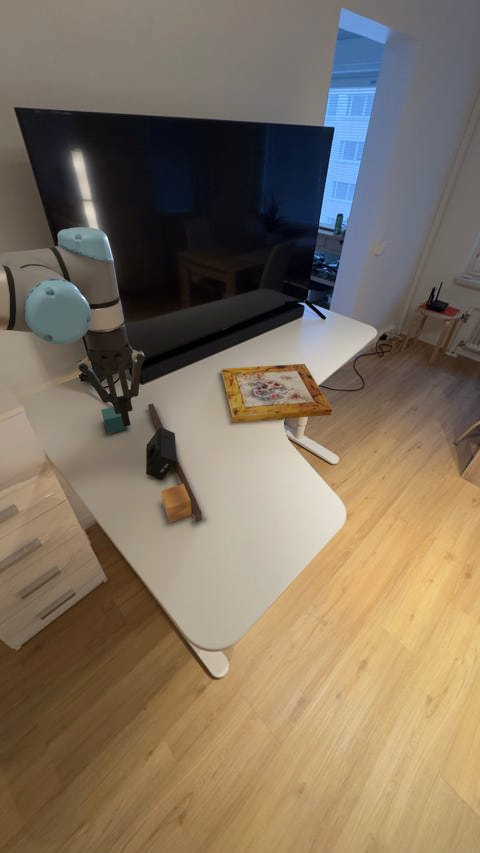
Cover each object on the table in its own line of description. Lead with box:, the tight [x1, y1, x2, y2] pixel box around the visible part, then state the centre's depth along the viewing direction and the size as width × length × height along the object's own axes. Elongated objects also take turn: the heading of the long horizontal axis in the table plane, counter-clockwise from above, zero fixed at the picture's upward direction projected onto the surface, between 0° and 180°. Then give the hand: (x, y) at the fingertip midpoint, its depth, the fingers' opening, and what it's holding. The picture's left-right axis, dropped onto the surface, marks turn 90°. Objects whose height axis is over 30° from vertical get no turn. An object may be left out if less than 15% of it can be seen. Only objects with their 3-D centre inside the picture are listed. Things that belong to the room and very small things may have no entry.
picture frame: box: [220, 363, 333, 424], centre depth 110 cm, size 27×2×30 cm
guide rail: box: [147, 403, 203, 523], centre depth 87 cm, size 2×42×2 cm, turn 25°
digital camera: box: [145, 427, 178, 481], centre depth 83 cm, size 10×5×7 cm
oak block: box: [160, 484, 193, 523], centre depth 74 cm, size 5×5×5 cm
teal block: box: [100, 406, 127, 435], centre depth 94 cm, size 5×5×5 cm
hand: (126, 422), depth 79 cm, fingers closed
